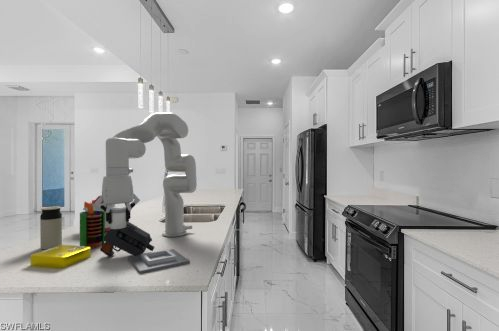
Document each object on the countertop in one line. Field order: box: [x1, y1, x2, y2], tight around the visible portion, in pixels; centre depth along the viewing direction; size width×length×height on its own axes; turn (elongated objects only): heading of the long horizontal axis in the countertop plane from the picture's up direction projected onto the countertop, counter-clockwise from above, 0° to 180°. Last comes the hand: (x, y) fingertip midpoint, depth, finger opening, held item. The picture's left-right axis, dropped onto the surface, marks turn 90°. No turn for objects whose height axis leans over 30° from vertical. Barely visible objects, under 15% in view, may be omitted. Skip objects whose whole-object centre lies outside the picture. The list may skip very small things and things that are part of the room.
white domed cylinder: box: [110, 206, 126, 229], centre depth 104 cm, size 5×5×7 cm
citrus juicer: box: [82, 195, 116, 233], centre depth 161 cm, size 16×17×20 cm
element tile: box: [30, 244, 92, 269], centre depth 111 cm, size 15×15×5 cm
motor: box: [79, 201, 106, 250], centre depth 130 cm, size 10×9×20 cm
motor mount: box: [128, 249, 191, 274], centre depth 110 cm, size 18×18×2 cm
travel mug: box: [39, 205, 63, 251], centre depth 129 cm, size 8×8×18 cm
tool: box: [99, 221, 155, 258], centre depth 117 cm, size 6×19×15 cm, turn 95°
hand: (118, 221), depth 104 cm, fingers closed on white domed cylinder, 5 cm apart
